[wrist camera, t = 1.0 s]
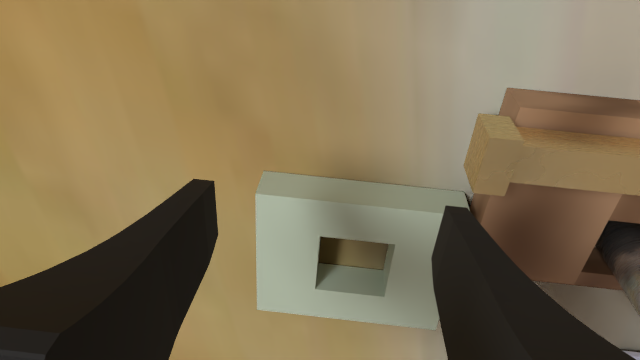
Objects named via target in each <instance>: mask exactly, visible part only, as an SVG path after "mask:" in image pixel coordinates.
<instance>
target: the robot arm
mask: <svg viewBox="0 0 640 360" xmlns="http://www.w3.org/2000/svg"><path fill="white" fill-rule="evenodd" d="M217 236H218V227H217V213H216V200H215V186H214V181H208V180H199V179H193V180H192V181H190V182H189V183H188V184H186V185H185V186H184V187H182V188H181V189H180V190H179V191H177V192H176V193H175V194H173V195H172V196H171V197H169V198H168V199H167V200H166V201H164V202H163V203H161V204H160V205H159V206H157V207H156V208H155V209H153V210H152V211H151V212H149V213H148V214H147V215H145V216H144V217H142V218H141V219H139V220H138V221H136V222H135V223H133V224H132V225H130V226H129V227H127V228H126V229H124V230H123V231H121V232H120V233H118V234H116V235H115V236H113V237H111V238H110V239H108V240H106V241H104V242H103V243H101V244H99V245H97V246H95V247H93V248H92V249H90V250H88V251H86V252H84V253H82V254H80V255H78V256H76V257H73V258H71V259H69V260H67V261H65V262H63V263H60V264H58V265H56V266H54V267H52V268H50V269H47V270H45V271H42V272H40V273H37V274H35V275H32V276H30V277H27V278H25V279H22V280H19V281H17V282H14V283H11V284H8V285H5V286H2V287H0V360H169V357H170V354H171V351H172V348H173V345H174V342H175V339H176V337H177V334H178V332H179V329H180V327H181V324H182V322H183V320H184V318H185V316H186V314H187V311H188V309H189V307H190V305H191V303H192V301H193V298H194V296H195V294H196V292H197V290H198V288H199V285H200V283H201V281H202V279H203V277H204V274H205V272H206V270H207V268H208V265H209V263H210V260H211V257H212V253H213V250H214V247H215V243H216V240H217ZM431 261H432V277H433V289H434V294H435V299H436V304H437V309H438V313H439V318H440V323H441V328H442V332H443V337H444V342H445V347H446V351H447V356H448V360H640V352H632V351H622V350H620V349H619V348H617V347H616V346H614V345H613V344H611V343H610V342H608V341H607V340H605V339H604V338H602V337H601V336H599V335H598V334H597V333H595V332H594V331H592V330H591V329H590V328H588V327H587V326H586V325H584V324H583V323H582V322H580V321H579V320H578V319H576V318H575V317H574V316H572V315H571V314H570V313H568V312H567V311H566V310H565V309H563V308H562V307H561V306H560V305H559V304H557V303H556V302H555V301H554V300H553V299H552V298H551V297H549V296H548V295H547V294H546V293H545V292H544V291H542V290H541V289H540V288H539V287H538V286H537V285H536V284H535V283H534V282H533V281H532V280H531V279H530V278H529V277H528V276H527V275H526V274H525V273H524V272H523V271H522V270H521V269H520V268H519V267H518V266H517V265H516V264H515V263H514V262H513V261H512V260H511V259H510V258H509V257H508V256H507V254H506V253H505V252H504V251H503V250H502V249H501V248H500V247H499V245H498V244H497V243H496V242H495V241H494V240H493V238H492V237H491V236H490V235H489V234H488V232H487V231H486V230H485V229H484V228H483V226H482V225H481V224H480V223H479V222H478V220H477V219H476V218H475V217H474V215H473V214H472V213H471V212H470V211H469V209H468V208H466V207H456V206H447V205H446V206H445V210H444V213H443V217H442V221H441V224H440V228H439V231H438V235H437V239H436V242H435V246H434V250H433V253H432V257H431Z"/></svg>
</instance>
